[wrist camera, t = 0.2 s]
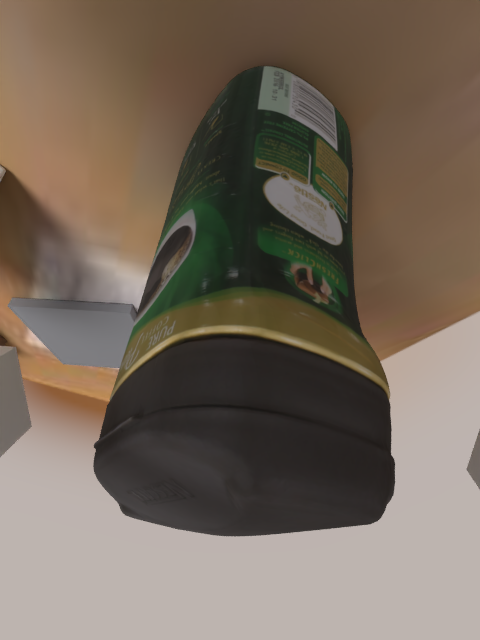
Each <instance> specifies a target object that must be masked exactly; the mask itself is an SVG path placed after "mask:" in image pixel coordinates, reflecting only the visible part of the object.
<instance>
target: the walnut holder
mask: <svg viewBox="0 0 480 640" xmlns="http://www.w3.org/2000/svg"><path fill="white" fill-rule="evenodd" d="M6 342H7V341H6V340H5V339H4V338H3V337H2V336H0V346H5V344H6Z"/></svg>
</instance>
